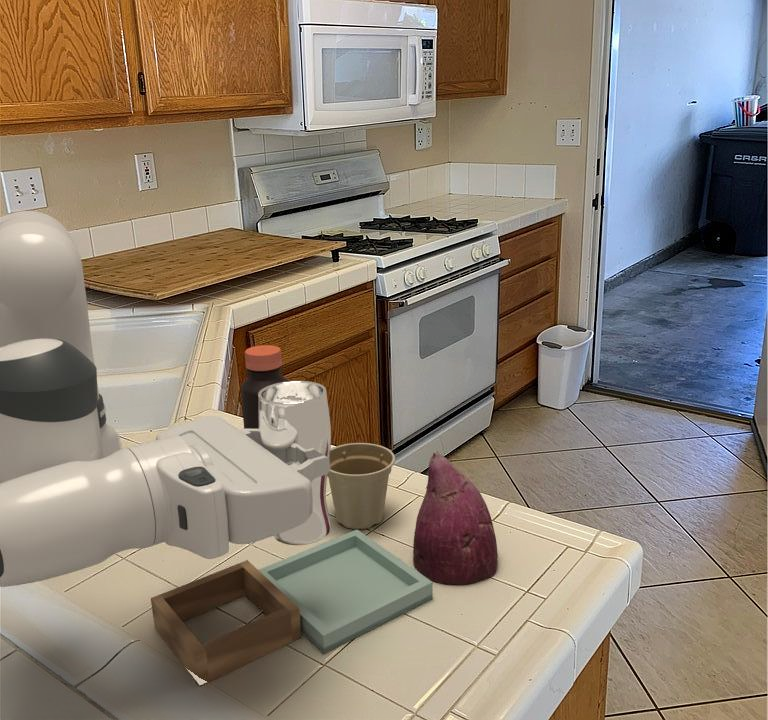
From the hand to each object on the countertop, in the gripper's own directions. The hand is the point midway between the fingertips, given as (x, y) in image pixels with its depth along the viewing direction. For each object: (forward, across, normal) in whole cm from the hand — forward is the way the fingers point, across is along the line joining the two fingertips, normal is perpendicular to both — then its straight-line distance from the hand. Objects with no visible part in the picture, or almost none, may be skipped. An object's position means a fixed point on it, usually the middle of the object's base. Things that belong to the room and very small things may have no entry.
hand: (304, 448), depth 75 cm
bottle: (+10, -28, -19) cm, 36 cm away
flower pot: (+15, -13, -19) cm, 27 cm away
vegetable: (+18, +2, -19) cm, 26 cm away
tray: (+4, 0, -19) cm, 19 cm away
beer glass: (-1, 0, -9) cm, 9 cm away
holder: (-9, -2, -19) cm, 21 cm away
